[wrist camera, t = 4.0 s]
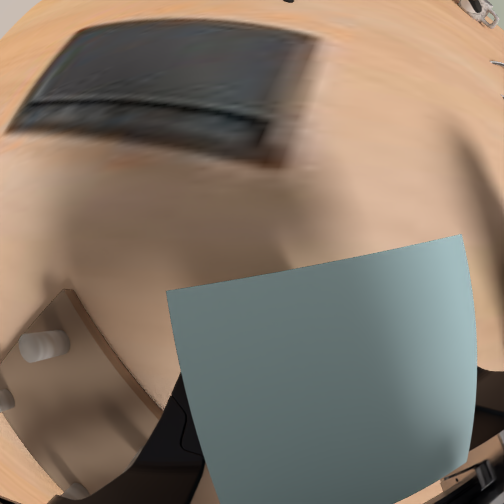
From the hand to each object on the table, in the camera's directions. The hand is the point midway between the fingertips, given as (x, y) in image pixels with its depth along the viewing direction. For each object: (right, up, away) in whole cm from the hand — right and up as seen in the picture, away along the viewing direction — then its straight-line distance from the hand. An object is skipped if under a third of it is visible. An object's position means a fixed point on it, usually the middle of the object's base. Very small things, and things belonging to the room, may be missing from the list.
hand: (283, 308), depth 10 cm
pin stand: (-14, -10, +5) cm, 18 cm away
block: (0, -2, +6) cm, 7 cm away
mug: (+48, +53, +17) cm, 74 cm away
